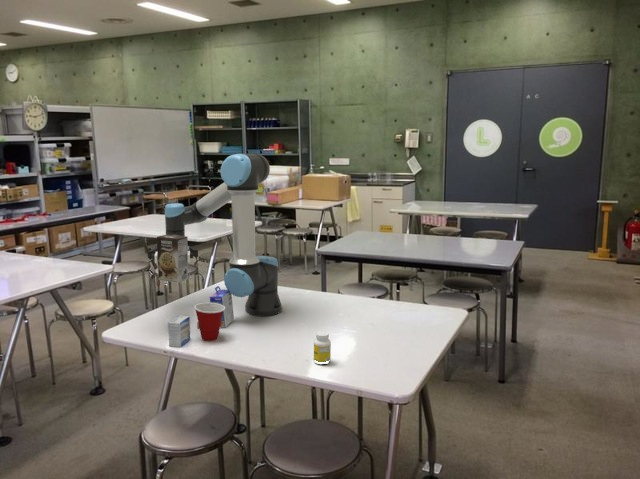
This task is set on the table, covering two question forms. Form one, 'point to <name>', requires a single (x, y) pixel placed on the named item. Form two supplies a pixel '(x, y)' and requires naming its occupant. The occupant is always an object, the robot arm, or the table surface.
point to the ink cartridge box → (226, 300)
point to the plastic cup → (209, 319)
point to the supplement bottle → (322, 347)
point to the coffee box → (172, 258)
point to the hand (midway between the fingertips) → (172, 258)
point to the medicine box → (179, 331)
